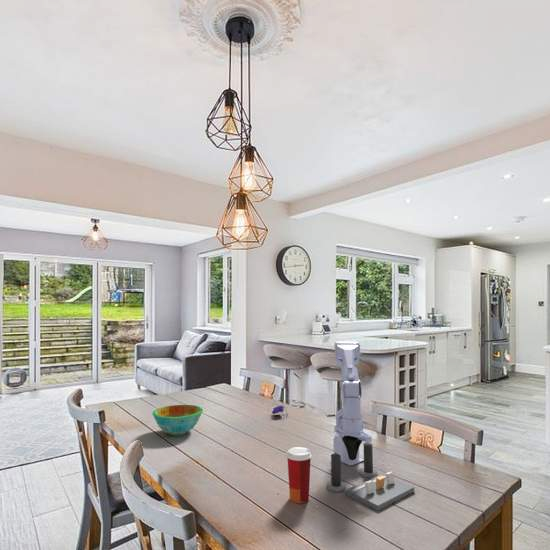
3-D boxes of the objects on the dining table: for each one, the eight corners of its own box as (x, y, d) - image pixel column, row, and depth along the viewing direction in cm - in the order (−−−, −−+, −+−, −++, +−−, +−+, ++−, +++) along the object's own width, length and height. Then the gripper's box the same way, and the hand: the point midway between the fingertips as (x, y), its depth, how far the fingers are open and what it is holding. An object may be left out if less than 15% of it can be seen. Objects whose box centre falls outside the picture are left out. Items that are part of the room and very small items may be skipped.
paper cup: (310, 492, 121) (309, 446, 122) (313, 505, 113) (313, 455, 114) (285, 492, 121) (285, 446, 122) (286, 505, 113) (286, 456, 114)
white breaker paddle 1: (366, 493, 117) (364, 482, 117) (371, 490, 118) (370, 480, 119) (369, 494, 116) (367, 483, 117) (374, 491, 117) (373, 480, 118)
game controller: (265, 406, 207) (283, 401, 210) (269, 422, 205) (287, 417, 207) (268, 405, 198) (287, 400, 201) (272, 422, 196) (291, 416, 198)
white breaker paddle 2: (386, 483, 123) (385, 473, 124) (391, 481, 125) (390, 471, 125) (389, 484, 122) (388, 474, 123) (394, 482, 124) (393, 471, 124)
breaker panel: (345, 494, 120) (345, 488, 120) (382, 478, 130) (382, 473, 131) (378, 511, 110) (377, 504, 110) (414, 492, 121) (414, 486, 121)
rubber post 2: (356, 473, 134) (355, 443, 135) (367, 469, 138) (366, 440, 139) (369, 479, 130) (369, 448, 130) (381, 474, 133) (380, 444, 134)
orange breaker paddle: (375, 487, 120) (376, 477, 120) (380, 484, 122) (381, 475, 122) (378, 489, 119) (379, 479, 119) (383, 486, 121) (384, 477, 121)
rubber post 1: (322, 487, 125) (322, 454, 125) (335, 481, 128) (335, 450, 129) (336, 494, 120) (336, 460, 121) (349, 488, 124) (349, 456, 124)
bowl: (141, 439, 169) (142, 415, 170) (167, 424, 190) (168, 403, 191) (189, 443, 163) (189, 419, 164) (210, 427, 185) (210, 405, 186)
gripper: (327, 414, 134) (328, 455, 133) (361, 424, 122) (361, 469, 121) (342, 411, 138) (342, 450, 137) (375, 420, 127) (376, 463, 125)
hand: (352, 459), depth 129 cm, fingers closed
